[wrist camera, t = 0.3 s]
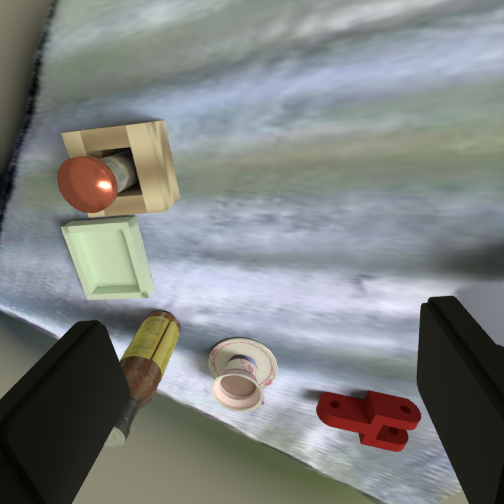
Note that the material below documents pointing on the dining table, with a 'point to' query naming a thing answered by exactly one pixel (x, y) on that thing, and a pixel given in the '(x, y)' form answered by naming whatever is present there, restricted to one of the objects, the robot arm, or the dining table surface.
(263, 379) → the teacup
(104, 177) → the pin
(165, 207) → the socket block
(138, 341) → the sauce bottle
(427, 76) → the dining table surface
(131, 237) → the tray
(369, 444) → the mechanical linkage
